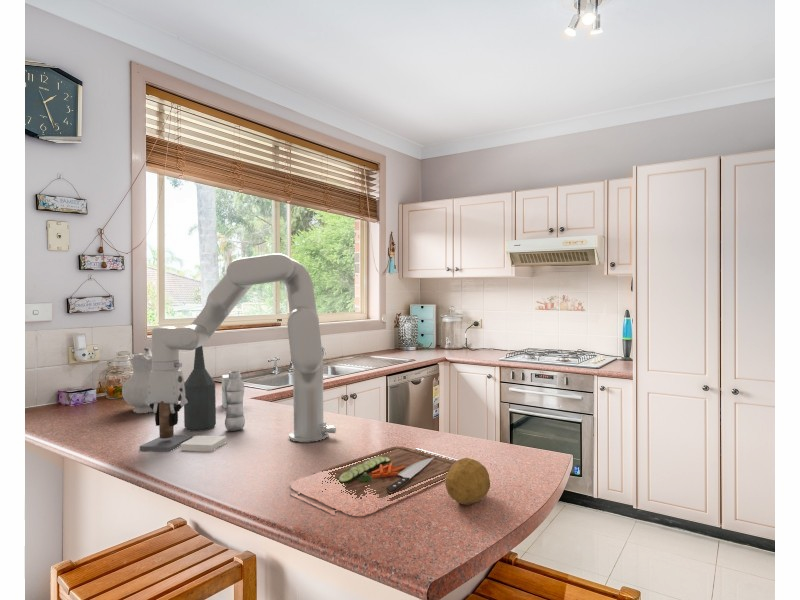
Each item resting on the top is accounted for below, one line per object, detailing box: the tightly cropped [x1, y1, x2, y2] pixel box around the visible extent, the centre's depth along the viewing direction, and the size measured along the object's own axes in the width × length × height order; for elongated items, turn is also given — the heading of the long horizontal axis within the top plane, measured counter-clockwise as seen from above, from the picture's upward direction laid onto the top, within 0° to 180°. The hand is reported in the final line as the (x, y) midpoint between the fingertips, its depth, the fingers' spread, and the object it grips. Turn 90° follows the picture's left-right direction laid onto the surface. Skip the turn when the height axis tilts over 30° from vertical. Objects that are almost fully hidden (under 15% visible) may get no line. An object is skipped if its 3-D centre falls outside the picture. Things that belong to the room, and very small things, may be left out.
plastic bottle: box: [224, 370, 246, 432], centre depth 172 cm, size 6×7×20 cm
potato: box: [444, 457, 491, 506], centre depth 113 cm, size 10×13×9 cm
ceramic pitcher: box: [121, 346, 154, 414], centre depth 204 cm, size 22×20×25 cm
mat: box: [139, 434, 194, 452], centre depth 156 cm, size 10×12×1 cm
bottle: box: [183, 345, 217, 432], centre depth 176 cm, size 10×10×30 cm
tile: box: [180, 435, 227, 452], centre depth 154 cm, size 2×9×10 cm
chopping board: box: [320, 446, 459, 501], centre depth 128 cm, size 45×27×3 cm, turn 137°
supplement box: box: [221, 374, 243, 409], centre depth 209 cm, size 7×7×13 cm
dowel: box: [158, 401, 175, 439], centre depth 156 cm, size 4×4×14 cm
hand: (166, 424), depth 156 cm, fingers closed on dowel, 4 cm apart
